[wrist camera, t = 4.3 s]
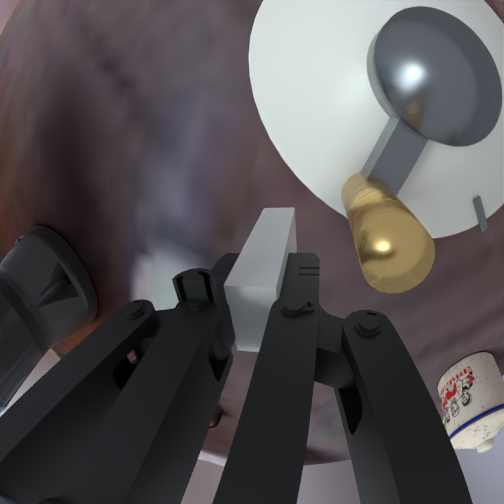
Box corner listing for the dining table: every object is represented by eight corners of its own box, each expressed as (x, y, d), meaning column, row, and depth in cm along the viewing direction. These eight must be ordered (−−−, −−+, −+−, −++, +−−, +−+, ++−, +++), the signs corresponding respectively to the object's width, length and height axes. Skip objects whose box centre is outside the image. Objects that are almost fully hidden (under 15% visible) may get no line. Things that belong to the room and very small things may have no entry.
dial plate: (205, 142, 18) (195, 145, 17) (322, -78, 7) (322, -89, 5) (446, 274, 19) (453, 286, 17) (544, 78, 8) (555, 78, 6)
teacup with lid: (458, 349, 22) (485, 437, 12) (505, 348, 21) (533, 420, 11) (414, 406, 28) (421, 479, 18) (460, 402, 27) (473, 467, 17)
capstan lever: (392, -1, 9) (436, -58, 2) (490, 73, 9) (568, 73, 2) (297, 184, 16) (285, 242, 10) (399, 243, 17) (439, 323, 10)
